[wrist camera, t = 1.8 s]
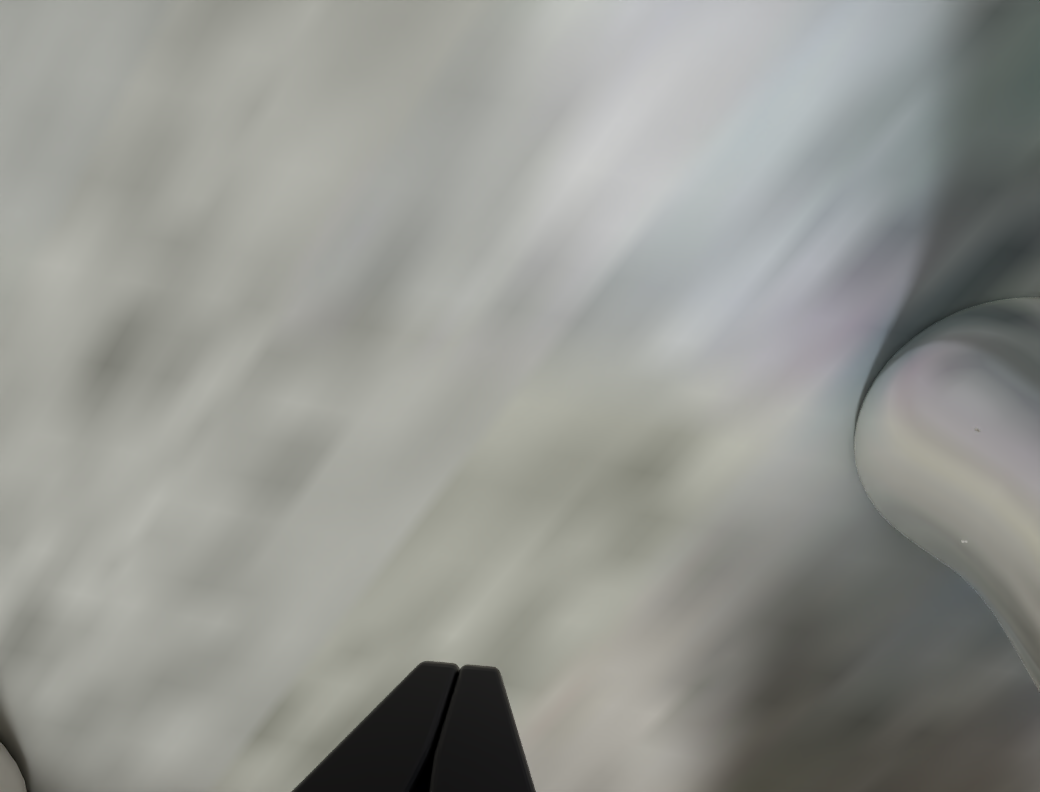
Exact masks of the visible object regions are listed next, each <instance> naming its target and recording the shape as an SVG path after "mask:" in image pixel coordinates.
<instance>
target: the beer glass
mask: <svg viewBox="0 0 1040 792" xmlns="http://www.w3.org/2000/svg"><path fill="white" fill-rule="evenodd" d="M854 455H855V463H856V468H857V472H858V475H859V478H860V481H861V483H862V486H863V488H864V490H865V492H866V494H867V496H868V497H869V499H870V501H871V502H872V504H873V505H874V507H875V508H876V509H877V511H878V512H879V513H880V514H881V515H882V516H883V517H884V518H885V519H886V520H887V521H888V522H889V523H890V524H891V525H892V526H893V527H894V528H895V529H896V530H897V531H899V532H900V533H901V534H902V535H904V536H905V537H906V538H908V539H909V540H910V541H912V542H913V543H915V544H916V545H917V546H919V547H920V548H922V549H923V550H925V551H926V552H928V553H929V554H931V555H932V556H933V557H935V558H936V559H938V560H939V561H941V562H942V563H944V564H945V565H946V566H948V567H949V568H951V569H952V570H953V571H954V572H955V573H957V574H958V575H959V576H960V577H962V578H963V579H964V580H965V581H966V582H967V583H968V584H969V585H970V586H971V587H972V588H973V589H974V590H975V591H976V592H977V593H978V594H979V596H980V597H981V598H982V600H983V601H984V602H985V604H986V605H987V606H988V608H989V609H990V610H991V611H992V613H993V614H994V615H995V617H996V619H997V620H998V622H999V624H1000V625H1001V627H1002V629H1003V630H1004V632H1005V634H1006V635H1007V637H1008V639H1009V640H1010V642H1011V644H1012V645H1013V647H1014V649H1015V650H1016V652H1017V654H1018V655H1019V657H1020V659H1021V660H1022V662H1023V664H1024V666H1025V668H1026V669H1027V671H1028V673H1029V675H1030V677H1031V678H1032V680H1033V682H1034V684H1035V686H1036V687H1037V689H1038V691H1039V693H1040V297H1023V298H1009V299H1001V300H995V301H990V302H986V303H982V304H979V305H975V306H972V307H969V308H966V309H963V310H961V311H958V312H956V313H954V314H951V315H949V316H947V317H945V318H943V319H941V320H939V321H938V322H936V323H934V324H932V325H931V326H929V327H928V328H926V329H925V330H923V331H922V332H920V333H919V334H917V335H916V336H915V337H913V338H912V339H911V340H910V341H909V342H907V343H906V344H905V345H904V346H903V347H902V348H901V349H900V350H899V351H898V352H896V354H895V355H894V356H893V357H892V358H891V359H890V360H889V361H888V362H887V364H886V365H885V366H884V367H883V369H882V370H881V371H880V373H879V374H878V375H877V377H876V378H875V380H874V382H873V383H872V385H871V387H870V389H869V390H868V392H867V394H866V397H865V399H864V401H863V404H862V406H861V409H860V412H859V415H858V419H857V423H856V429H855V437H854Z"/></svg>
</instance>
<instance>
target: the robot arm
mask: <svg viewBox="0 0 1040 792" xmlns="http://www.w3.org/2000/svg"><path fill="white" fill-rule="evenodd" d="M292 792H536V791H535V788H534V784H533V781H532V778H531V774H530V771H529V767H528V764H527V761H526V757H525V754H524V751H523V747H522V744H521V741H520V737H519V734H518V730H517V727H516V724H515V720H514V717H513V714H512V710H511V707H510V703H509V700H508V697H507V693H506V690H505V687H504V683H503V680H502V677H501V673H500V671H499V670H498V669H497V668H496V667H490V666H479V665H464V666H462V668H461V669H459V667H458V666H457V665H456V664H454V663H445V662H433V661H424V662H422V663H420V664H419V665H418V666H417V667H416V668H415V669H414V670H413V671H412V672H411V673H410V674H409V675H408V676H407V677H406V678H405V679H404V680H403V681H402V682H401V683H400V684H399V685H398V686H397V687H396V688H395V689H394V690H393V691H392V692H391V693H390V694H389V695H388V696H387V697H386V698H385V699H384V700H383V701H382V702H381V703H380V704H379V705H378V706H377V707H376V708H375V709H374V710H373V711H372V712H371V713H370V714H369V715H368V716H367V717H366V718H365V719H364V720H363V721H362V722H361V723H360V724H359V725H358V726H357V727H356V728H355V729H354V730H353V731H352V732H351V733H350V734H349V735H348V736H347V737H346V738H345V739H344V740H343V741H342V742H341V743H340V744H339V745H338V746H337V747H336V748H335V749H334V750H333V751H332V752H331V753H330V754H329V755H328V756H327V757H326V758H325V759H324V760H323V761H322V762H321V763H320V764H319V765H318V766H317V767H316V768H315V769H314V770H313V771H312V772H311V773H310V774H309V775H308V776H307V777H306V778H305V779H304V780H303V781H302V782H301V783H300V784H299V785H298V786H297V787H296V788H295V789H294V790H293V791H292Z"/></svg>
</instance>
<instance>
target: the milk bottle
mask: <svg viewBox="0 0 1040 792" xmlns="http://www.w3.org/2000/svg"><path fill="white" fill-rule="evenodd" d="M0 792H27V790H26V785H25V780H24V778H23V776H22V774H21V772H20V770H19V768H18V766H17V763H16V762H15V761H14V759H13V758H12V757H11V755H10V754H9V752H8V751H7V749H6V748H5V746H4V745H3V744H2V743H1V742H0Z"/></svg>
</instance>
